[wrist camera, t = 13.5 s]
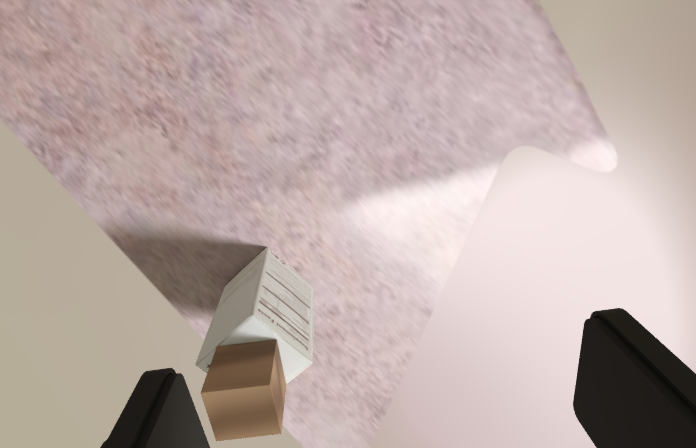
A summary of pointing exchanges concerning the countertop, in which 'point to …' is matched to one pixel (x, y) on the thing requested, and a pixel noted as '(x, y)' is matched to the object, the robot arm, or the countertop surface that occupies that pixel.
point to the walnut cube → (245, 390)
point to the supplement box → (265, 313)
